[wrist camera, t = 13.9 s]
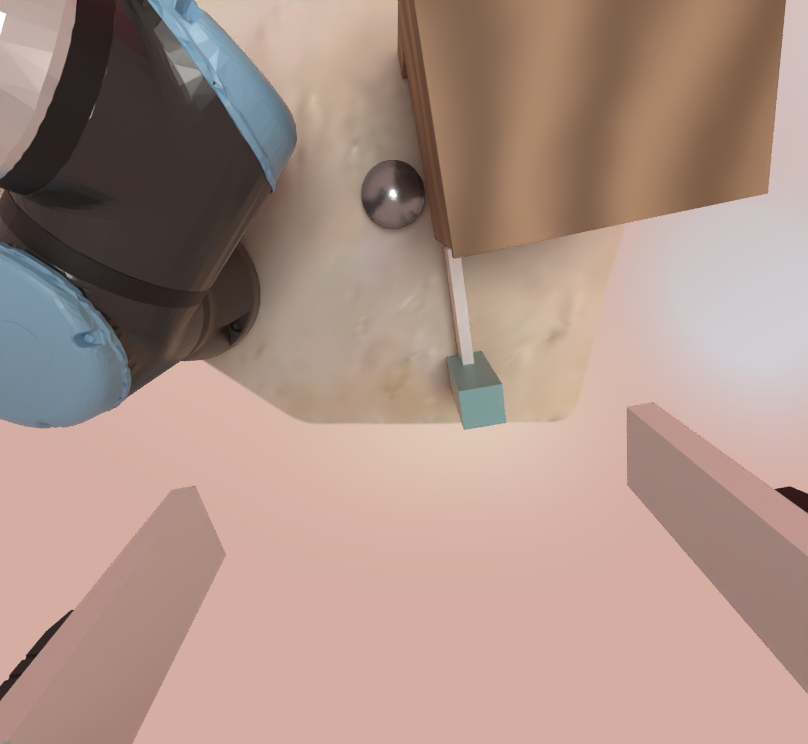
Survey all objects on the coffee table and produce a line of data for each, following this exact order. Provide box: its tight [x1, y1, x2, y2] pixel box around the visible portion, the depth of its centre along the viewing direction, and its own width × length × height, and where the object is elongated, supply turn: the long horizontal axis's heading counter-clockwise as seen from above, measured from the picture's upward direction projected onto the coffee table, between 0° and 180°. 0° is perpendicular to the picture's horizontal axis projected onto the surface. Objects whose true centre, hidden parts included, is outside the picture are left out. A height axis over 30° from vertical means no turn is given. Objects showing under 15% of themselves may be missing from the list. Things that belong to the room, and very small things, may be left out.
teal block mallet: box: [444, 246, 506, 430], centre depth 42 cm, size 4×16×10 cm, turn 10°
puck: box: [362, 160, 425, 229], centre depth 41 cm, size 6×6×2 cm
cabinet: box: [398, 0, 786, 259], centre depth 30 cm, size 17×17×22 cm
